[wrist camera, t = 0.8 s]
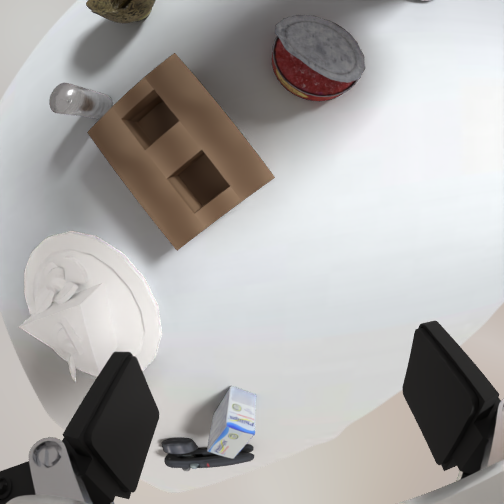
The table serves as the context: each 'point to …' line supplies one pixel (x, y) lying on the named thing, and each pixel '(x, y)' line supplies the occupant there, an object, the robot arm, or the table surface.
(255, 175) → the hole block
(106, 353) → the dish
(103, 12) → the cup
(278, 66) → the canned food
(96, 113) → the pin
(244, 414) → the medicine box
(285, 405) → the table surface
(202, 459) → the can opener
